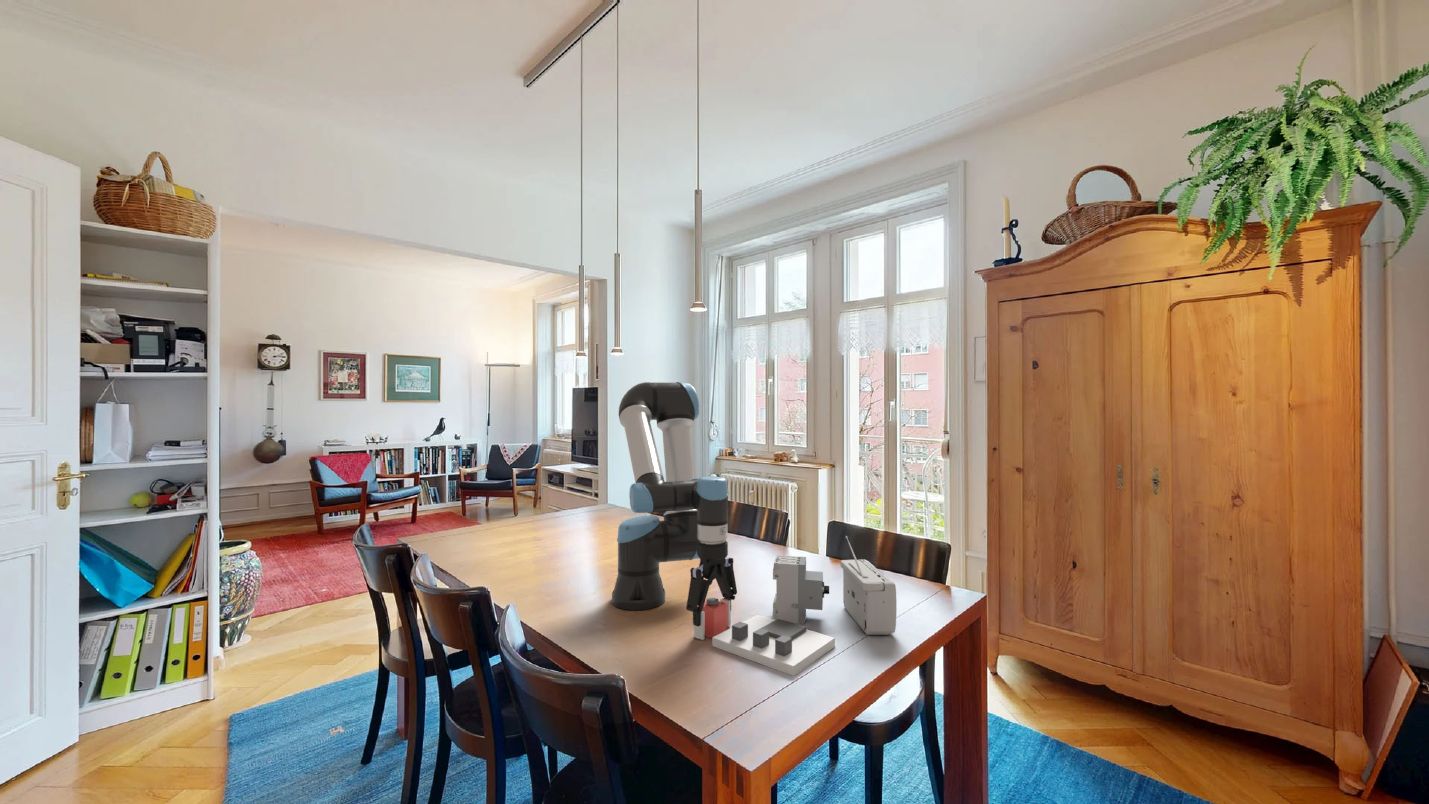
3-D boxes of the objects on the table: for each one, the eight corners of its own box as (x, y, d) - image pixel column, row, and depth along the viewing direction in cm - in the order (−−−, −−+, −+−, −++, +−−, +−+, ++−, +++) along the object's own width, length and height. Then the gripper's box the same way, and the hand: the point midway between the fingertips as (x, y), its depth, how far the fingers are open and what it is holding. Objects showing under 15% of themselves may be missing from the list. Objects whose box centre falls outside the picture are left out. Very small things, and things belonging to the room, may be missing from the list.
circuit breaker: (829, 625, 143) (829, 566, 143) (772, 621, 146) (772, 563, 146) (829, 614, 151) (829, 558, 151) (775, 610, 154) (775, 555, 154)
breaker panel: (712, 646, 132) (712, 624, 132) (757, 622, 145) (757, 602, 145) (793, 675, 117) (793, 651, 117) (834, 646, 131) (834, 624, 131)
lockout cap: (698, 632, 139) (698, 600, 139) (711, 626, 143) (711, 595, 143) (713, 638, 136) (713, 605, 136) (726, 631, 140) (726, 599, 140)
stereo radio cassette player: (897, 637, 136) (897, 554, 136) (864, 638, 136) (864, 555, 136) (868, 605, 157) (868, 533, 157) (839, 606, 157) (839, 534, 156)
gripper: (694, 552, 128) (694, 651, 128) (751, 534, 145) (751, 621, 145) (670, 546, 133) (670, 642, 133) (728, 530, 150) (728, 614, 150)
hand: (712, 631), depth 139 cm, fingers open, 9 cm apart
